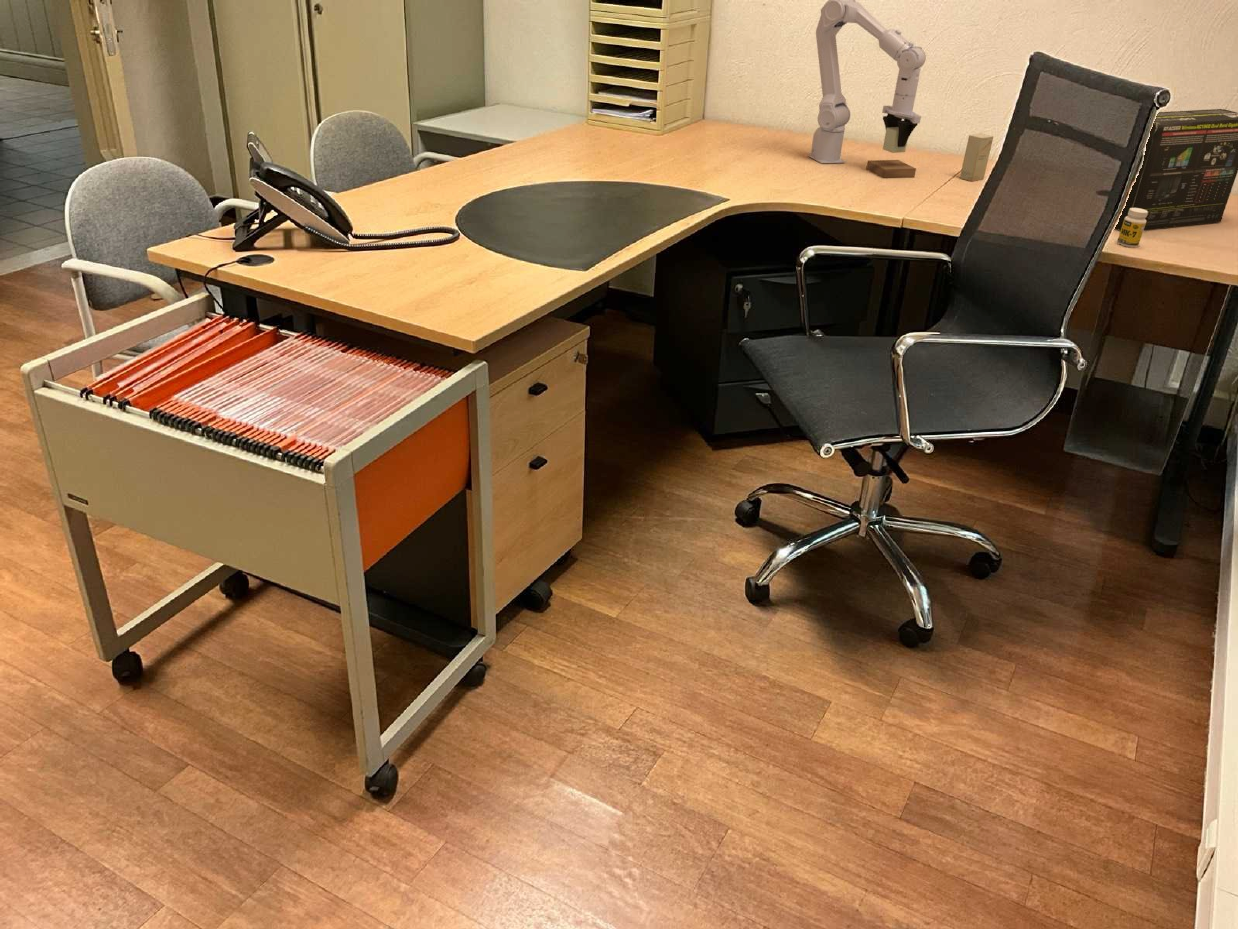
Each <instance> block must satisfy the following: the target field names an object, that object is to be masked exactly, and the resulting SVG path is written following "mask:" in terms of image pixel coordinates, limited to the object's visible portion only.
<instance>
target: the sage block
mask: <svg viewBox="0 0 1238 929" xmlns="http://www.w3.org/2000/svg"><path fill="white" fill-rule="evenodd" d="M898 135H899V128H898V127H888V128H885V136H884V139H883V145H882V150H884V151H886V152H888V153H892V154H897V153H906V150H907V145H908V142H907V143H906V145H905V147H898Z"/></svg>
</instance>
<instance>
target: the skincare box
mask: <svg viewBox="0 0 1238 929" xmlns="http://www.w3.org/2000/svg"><path fill="white" fill-rule="evenodd" d="M993 140H994V135H990V134H986V133H985V134H984V133H974V134H969V135H968V138H967V144H966V147H965V148H966V149H965V152H964V156H963V157H964V158H963V162H962V167H961V170H960V175H959V179H961V180H965V181H969V182H975V181H976V182H977V181H981V180H984V179H985V176H986V175H985V174H986V170H987V166H988V162H989V157H990V152H991V149H992V144H993Z"/></svg>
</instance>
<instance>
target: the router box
mask: <svg viewBox="0 0 1238 929" xmlns="http://www.w3.org/2000/svg"><path fill="white" fill-rule="evenodd" d="M1158 112H1159V113H1158V114H1157V116H1156V119H1155V121H1154V123H1153V127H1152V129H1151V131H1150V137H1149V139H1148V142H1147V144H1146V151H1145V155H1144V161H1143V165H1142V168H1141V169H1140V171H1139V175H1138V176H1137V178H1136V182H1135V183H1134V185H1133V186H1132V190H1131V192H1130V194H1129V198H1128V200H1127V202H1126V206H1125V208H1124V209H1123V211H1122V215H1121V216H1120V218H1119V222H1118V224H1117V225H1116V227H1115V230H1118V231H1121V228H1122V225H1123V222H1124V219H1125V217H1126V216H1128V212H1129V209H1130V208H1140V209H1144V210H1147V211H1148V213H1147V216H1146V218H1145V219H1146V224H1145V227H1144V230H1143V231H1149V230H1159V229H1168V228H1169V229H1170V228H1175V227H1177V228H1178V227H1186V226H1188V227H1189V226H1197V225H1204V224H1213V223H1221V222H1222V219H1223V216H1224V212H1225V210H1226V207H1227V204H1228V200H1229V199H1230V196H1231V193H1232V189H1233V186H1234V184H1235V180H1236V177H1237V174H1238V112H1237V111H1232V110H1230V109H1229V110H1228V109H1225V108H1224V109H1222V108H1215V109H1196V110H1195V109H1193V110H1177V111H1175V110H1174V111H1172V110H1171V111H1158Z"/></svg>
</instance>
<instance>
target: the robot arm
mask: <svg viewBox="0 0 1238 929" xmlns="http://www.w3.org/2000/svg"><path fill="white" fill-rule="evenodd" d="M847 23H849V24H857V25H858V26H860V27H861V28H863V29H864V30H865V31H866V32H868V34H870V35H872V36H873V37H874V38H875V39H877V40H878V47H879V48H880V49H881V50H882V51H883V52H885V53H886V54H887V55H888V56H889V57H891V59H893V60H894V61H895V62H896V64H897V65H896V66H897V67H898V68H899V69H898V74H897V78H896V83H895V88H894V89H895V90H894V95H893V100H892V105H883V107H882V114H886V115H884V116H882V120H883V123H884V129H886V128H888V127H898V128H899V135H898V147H905V145H906V143H907V144H908V140H909V137H910V136H911V134H912V133H913V131H915V129H916V128H917V126H918V125H919V124H920V123H921V119H922V115H919V114H917V113H916V112H914V111H913V109H914V104H915V99H916V96H917V90H918V85H919V80H920V75H921V74H920V73H921V68H922V67H923V66H924V64H925V63H926V58H927V57H926V56H927V55H926V53H925V51H924V50H923V49H922V47H921V46H914V45H915V43H914V42H913V41H908V39H907V38H906V37H904V36H903V35H902V31H901V30H900V29H895V28H889V29H887V28H886V27H885V26H884V25H883V24H882V23H881V22H879V20H877V18H876V17H875V16H873V15H872V14H871V13H870V12H869V11H868V10H867V9H866V8H865V7H864V6H863V4H862V3H861V2H859V1H856V0H827V1H826V3H825V4H824V5H823V6H822V7H821V8H820V17H819V21H818V23H817V27H816V30H815V39H816V47H817V54H818V56H817V57H818V65H819V74H820V83H821V94H822V97H821V100H820V103H819V104H818V105H819V106H818V107H819V112H818V116H817V123H818V125H819V127H818V128H816V129H815V131H814V133H813V136H812V143H811V147H810V149H811V150H810V153H808V154H807V157H809V158H812V159H813V160H814V161H816V162H818V163H821V164H845V163H846V160H844V159H842V158H841V154H842V150H843V149H842V148H843V142H844V136H845V131H846V129H845V127H846V125H847V124H848V123H849V121H850V119H851V111H850V108H849V106H848V105H847V104H848V103H847V99H846V98H845V96H844V94H843V92H842V86H841V75H840V67H839V66H840V65H839V57H838V56H839V55H838V48H837V47H838V46H837V37H836V36H837V34H838V33H839V32H840V31H841V29H842V28H843V27H844V26H845V25H846V24H847Z"/></svg>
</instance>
